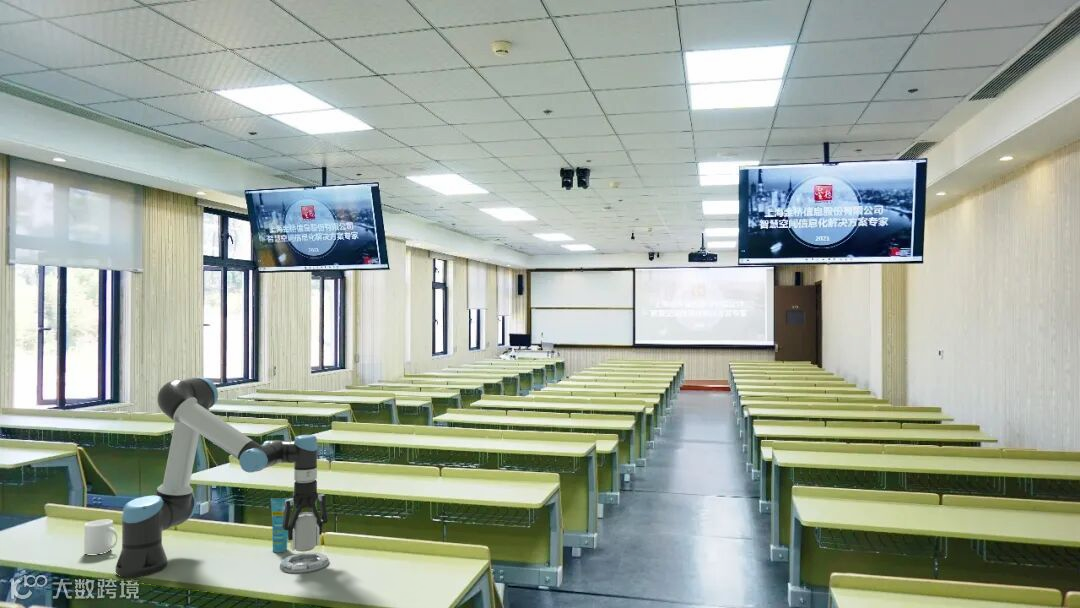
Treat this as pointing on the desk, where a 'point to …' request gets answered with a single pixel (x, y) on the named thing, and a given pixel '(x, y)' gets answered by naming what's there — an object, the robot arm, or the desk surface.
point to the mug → (99, 536)
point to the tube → (279, 525)
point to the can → (305, 531)
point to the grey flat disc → (304, 563)
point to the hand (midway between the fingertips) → (304, 546)
